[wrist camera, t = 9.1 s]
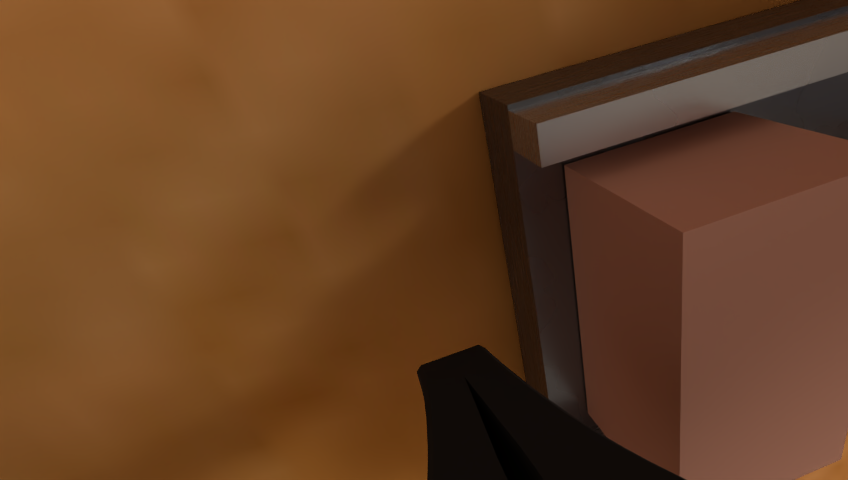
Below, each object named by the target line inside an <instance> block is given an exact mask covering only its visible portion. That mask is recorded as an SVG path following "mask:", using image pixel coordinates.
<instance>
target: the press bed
mask: <svg viewBox="0 0 848 480" xmlns="http://www.w3.org/2000/svg"><path fill="white" fill-rule="evenodd" d="M479 96H480V102H481V108H482V114H483V120H484V126H485V132H486V138H487V144H488V151H489V157H490V163H491V169H492V175H493V181H494V187H495V193H496V199H497V206H498V212H499V218H500V224H501V230H502V236H503V242H504V248H505V254H506V260H507V267H508V273H509V279H510V285H511V291H512V297H513V303H514V309H515V315H516V322H517V328H518V334H519V340H520V346H521V352H522V358H523V364H524V370H525V377H526V383H527V384H529V385H530V386H531V387H533V388H534V389H535V390H537V391H538V392H539V393H541V394H542V395H544V396H545V397H546V398H548V399H549V400H551V401H552V402H553V403H555V404H556V405H558V406H559V407H560V408H562V409H563V410H565V411H566V412H568V413H569V414H571V415H572V416H574V417H575V418H577V419H578V420H580V421H581V422H583V423H585V424H586V425H588V426H589V427H591V428H593V429H594V430H596V431H597V432H599V433H600V434H602V435H604V436H605V434H604V433H603V432H602V431H601V429H600V428H599V427H598V425H597V424H596V423H595V422H594V420H593V419H592V418H591V416H590V415H589V414H588V408H587V398H586V388H585V377H584V367H583V356H582V346H581V336H580V325H579V315H578V305H577V294H576V284H575V273H574V263H573V253H572V242H571V232H570V221H569V211H568V201H567V190H566V180H565V169H564V165H566V164H569V163H572V162H575V161H578V160H582V159H585V158H588V157H591V156H594V155H597V154H601V153H604V152H607V151H610V150H613V149H616V148H620V147H623V146H626V145H629V144H632V143H636V142H639V141H642V140H645V139H648V138H651V137H655V136H658V135H661V134H664V133H667V132H671V131H674V130H677V129H680V128H683V127H686V126H690V125H693V124H696V123H699V122H702V121H705V120H709V119H712V118H715V117H718V116H721V115H725V114H728V113H731V112H734V111H735V112H738V113H742V114H746V115H750V116H754V117H758V118H762V119H766V120H770V121H774V122H778V123H782V124H786V125H790V126H794V127H798V128H802V129H806V130H810V131H814V132H818V133H822V134H826V135H830V136H834V137H838V138H842V139H846V140H848V0H799V1H796V2H792V3H789V4H785V5H782V6H778V7H775V8H771V9H768V10H764V11H761V12H757V13H754V14H750V15H747V16H743V17H740V18H736V19H733V20H729V21H726V22H722V23H719V24H715V25H712V26H708V27H705V28H701V29H698V30H694V31H691V32H687V33H684V34H680V35H677V36H673V37H670V38H666V39H663V40H659V41H656V42H652V43H649V44H645V45H642V46H639V47H635V48H632V49H628V50H625V51H621V52H618V53H614V54H611V55H607V56H604V57H600V58H597V59H593V60H590V61H586V62H583V63H579V64H576V65H572V66H569V67H565V68H562V69H558V70H555V71H551V72H548V73H544V74H541V75H537V76H534V77H530V78H527V79H523V80H520V81H516V82H513V83H509V84H506V85H502V86H499V87H495V88H492V89H488V90H485V91H481V92H479ZM605 437H606V436H605Z"/></svg>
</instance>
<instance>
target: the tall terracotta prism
mask: <svg viewBox="0 0 848 480" xmlns="http://www.w3.org/2000/svg"><path fill="white" fill-rule="evenodd" d="M564 169H565V180H566V190H567V201H568V211H569V221H570V232H571V242H572V253H573V263H574V273H575V284H576V294H577V305H578V315H579V325H580V336H581V346H582V356H583V367H584V377H585V388H586V398H587V408H588V414H589V415H590V416H591V418H592V419H593V420H594V422H595V423H596V424H597V425H598V427H599V428H600V429H601V431H602V432H603V433H604V434H605V436H606V437H607V438H609V439H611V440H612V441H614V442H616V443H617V444H619V445H621V446H623V447H624V448H626V449H628V450H630V451H632V452H633V453H635V454H637V455H639V456H641V457H643V458H645V459H646V460H648V461H650V462H652V463H654V464H656V465H658V466H660V467H662V468H664V469H666V470H668V471H670V472H672V473H674V474H676V475H678V476H680V477H682V478H684V479H686V480H795V479H797V478H799V477H802V476H804V475H806V474H808V473H811V472H813V471H815V470H818V469H820V468H822V467H824V466H827V465H829V464H831V463H834V462H836V461H838V460H840V459H841V457H842V453H843V448H844V443H845V439H846V434H847V430H848V140H846V139H842V138H838V137H834V136H830V135H826V134H822V133H818V132H814V131H810V130H806V129H802V128H798V127H794V126H790V125H786V124H782V123H778V122H774V121H770V120H766V119H762V118H758V117H754V116H750V115H746V114H742V113H738V112H735V111H734V112H731V113H728V114H725V115H721V116H718V117H715V118H712V119H709V120H705V121H702V122H699V123H696V124H693V125H690V126H686V127H683V128H680V129H677V130H674V131H671V132H667V133H664V134H661V135H658V136H655V137H651V138H648V139H645V140H642V141H639V142H636V143H632V144H629V145H626V146H623V147H620V148H616V149H613V150H610V151H607V152H604V153H601V154H597V155H594V156H591V157H588V158H585V159H582V160H578V161H575V162H572V163H569V164H566V165H564Z"/></svg>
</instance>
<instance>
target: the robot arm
mask: <svg viewBox="0 0 848 480" xmlns="http://www.w3.org/2000/svg"><path fill="white" fill-rule="evenodd" d="M417 374H418V378H419V381H420V385H421V388H422V392H423V395H424V401H425V409H426V418H427V439H428V477H427V480H686V479H684V478H682V477H680V476H678V475H676V474H674V473H672V472H670V471H668V470H666V469H664V468H662V467H660V466H658V465H656V464H654V463H652V462H650V461H648V460H646V459H645V458H643V457H641V456H639V455H637V454H635V453H633V452H632V451H630V450H628V449H626V448H624V447H623V446H621V445H619V444H617V443H616V442H614V441H612V440H611V439H609V438H607V437H605V436H604V435H602V434H600V433H599V432H597V431H596V430H594V429H593V428H591V427H589V426H588V425H586V424H585V423H583V422H581V421H580V420H578V419H577V418H575V417H574V416H572V415H571V414H569V413H568V412H566V411H565V410H563V409H562V408H560V407H559V406H558V405H556V404H555V403H553V402H552V401H551V400H549V399H548V398H546V397H545V396H544V395H542V394H541V393H539V392H538V391H537V390H535V389H534V388H533V387H531V386H530V385H529V384H527V383H526V382H525V381H523V380H522V379H521V378H520V377H518V376H517V375H516V374H515V373H513V372H512V371H511V370H510V369H508V368H507V367H506V366H505V365H504V364H502V363H501V362H500V361H499V360H498V359H497V358H495V357H494V356H493V355H492V354H491V353H490V352H489V351H488V350H487V349H485V348H484V347H482V346H480V345H477V346H474V347H471V348H468V349H465V350H463V351H460V352H457V353H454V354H451V355H449V356H446V357H443V358H440V359H438V360H435V361H432V362H429V363H426V364H424V365H421V366H420V368H419V369H418V371H417Z"/></svg>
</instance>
